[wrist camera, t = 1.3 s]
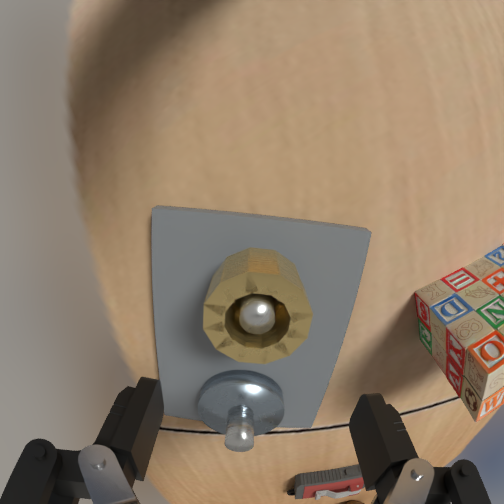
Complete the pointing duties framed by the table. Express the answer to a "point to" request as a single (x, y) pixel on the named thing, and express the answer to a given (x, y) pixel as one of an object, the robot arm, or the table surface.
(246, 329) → the silver knob
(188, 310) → the board
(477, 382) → the stack of blocks
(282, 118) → the table surface
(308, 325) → the brass ring
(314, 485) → the walkie-talkie
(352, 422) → the robot arm
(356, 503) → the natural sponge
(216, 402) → the hub
